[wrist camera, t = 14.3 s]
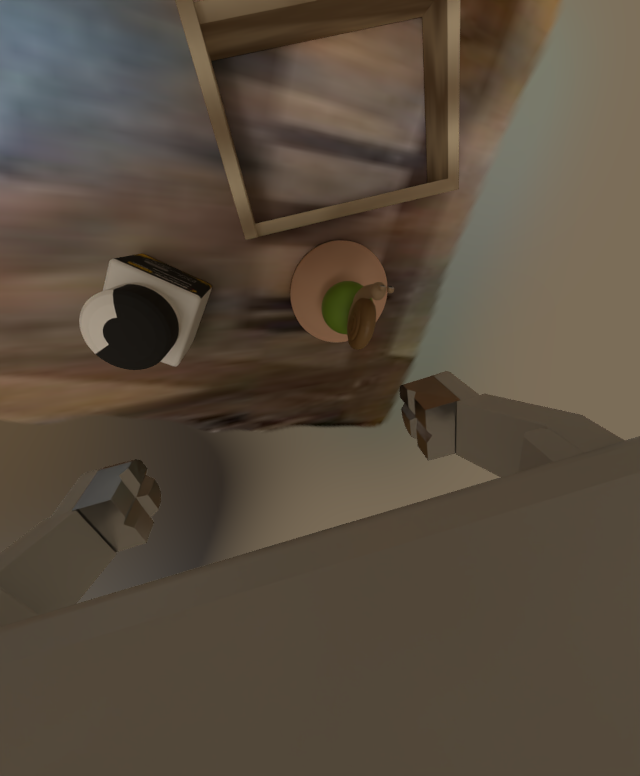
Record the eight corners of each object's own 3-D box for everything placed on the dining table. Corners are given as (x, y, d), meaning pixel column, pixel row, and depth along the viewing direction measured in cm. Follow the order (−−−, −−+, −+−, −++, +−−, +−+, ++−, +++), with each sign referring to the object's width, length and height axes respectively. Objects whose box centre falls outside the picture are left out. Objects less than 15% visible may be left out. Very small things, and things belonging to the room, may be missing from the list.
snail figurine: (372, 272, 34) (421, 291, 23) (358, 329, 36) (397, 369, 26) (324, 263, 32) (353, 279, 22) (313, 323, 35) (335, 362, 25)
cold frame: (193, 46, 24) (170, -17, 18) (433, -3, 25) (487, -79, 19) (249, 238, 31) (245, 240, 25) (437, 193, 32) (478, 184, 26)
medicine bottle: (213, 285, 32) (188, 310, 22) (192, 344, 35) (161, 393, 24) (141, 251, 30) (74, 262, 19) (123, 317, 32) (56, 359, 22)
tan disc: (278, 253, 32) (278, 254, 31) (379, 229, 33) (381, 229, 32) (302, 350, 37) (303, 352, 37) (389, 327, 38) (391, 329, 37)
